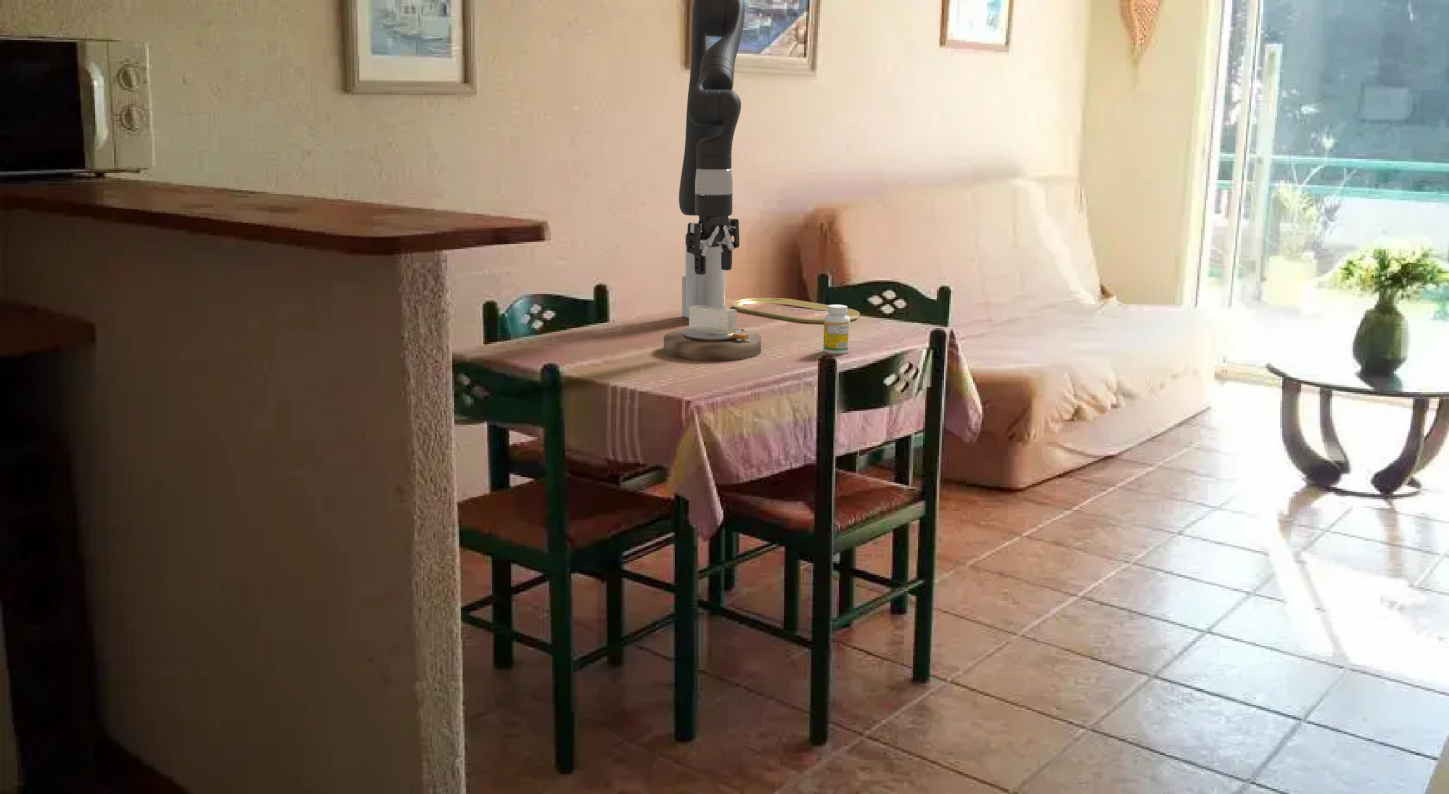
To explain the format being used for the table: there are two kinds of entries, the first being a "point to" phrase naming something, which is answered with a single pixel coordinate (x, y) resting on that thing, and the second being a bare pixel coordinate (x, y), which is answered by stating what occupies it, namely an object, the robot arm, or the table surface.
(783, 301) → the gold oval frame
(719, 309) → the butter block on plate
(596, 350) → the table surface
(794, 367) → the table surface
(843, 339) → the supplement bottle
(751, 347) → the base
